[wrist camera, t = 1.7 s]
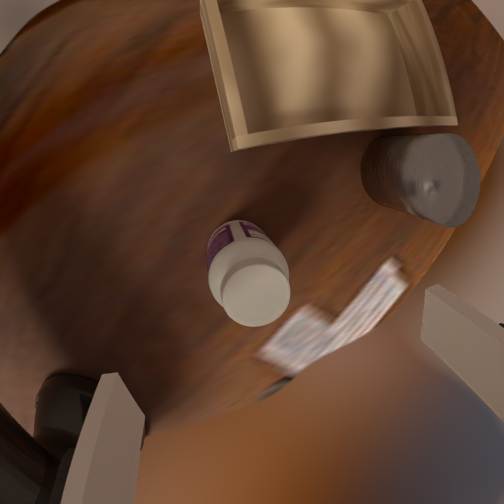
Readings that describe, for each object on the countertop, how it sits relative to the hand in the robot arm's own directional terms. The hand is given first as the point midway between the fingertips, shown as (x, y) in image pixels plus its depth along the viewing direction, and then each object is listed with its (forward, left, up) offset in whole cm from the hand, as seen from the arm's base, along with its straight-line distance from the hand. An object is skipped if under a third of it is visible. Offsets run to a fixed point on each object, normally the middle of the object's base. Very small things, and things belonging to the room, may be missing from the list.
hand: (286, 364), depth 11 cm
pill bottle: (0, 0, -16) cm, 16 cm away
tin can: (+16, +4, -16) cm, 23 cm away
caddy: (+11, +15, -16) cm, 24 cm away
